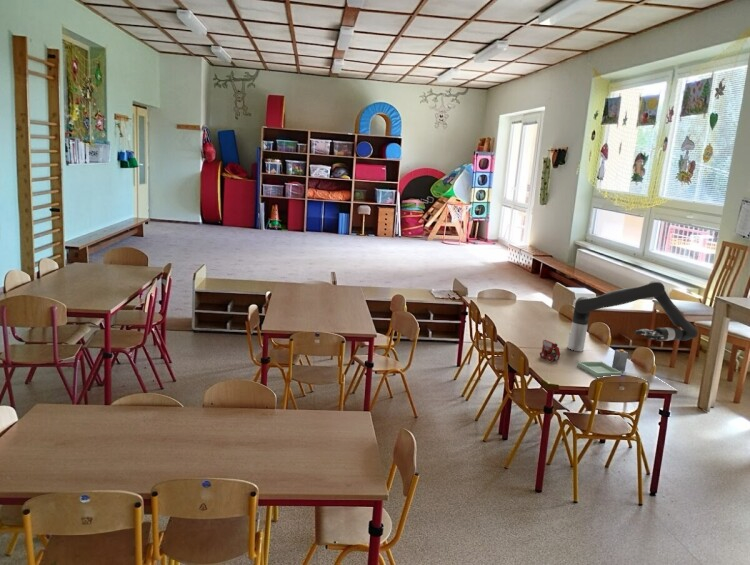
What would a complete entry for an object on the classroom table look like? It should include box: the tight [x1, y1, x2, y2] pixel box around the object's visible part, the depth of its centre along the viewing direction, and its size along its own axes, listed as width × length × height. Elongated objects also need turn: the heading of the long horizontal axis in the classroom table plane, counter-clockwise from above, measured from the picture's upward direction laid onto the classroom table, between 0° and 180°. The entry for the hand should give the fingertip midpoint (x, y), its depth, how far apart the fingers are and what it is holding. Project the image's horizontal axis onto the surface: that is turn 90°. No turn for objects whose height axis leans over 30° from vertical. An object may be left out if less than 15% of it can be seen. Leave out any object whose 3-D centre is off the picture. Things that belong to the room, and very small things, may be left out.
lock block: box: [611, 349, 629, 372], centre depth 346 cm, size 5×5×12 cm
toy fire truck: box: [539, 339, 561, 362], centre depth 353 cm, size 7×12×10 cm, turn 35°
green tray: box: [576, 361, 623, 379], centre depth 339 cm, size 18×16×3 cm
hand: (640, 334), depth 346 cm, fingers open, 8 cm apart
